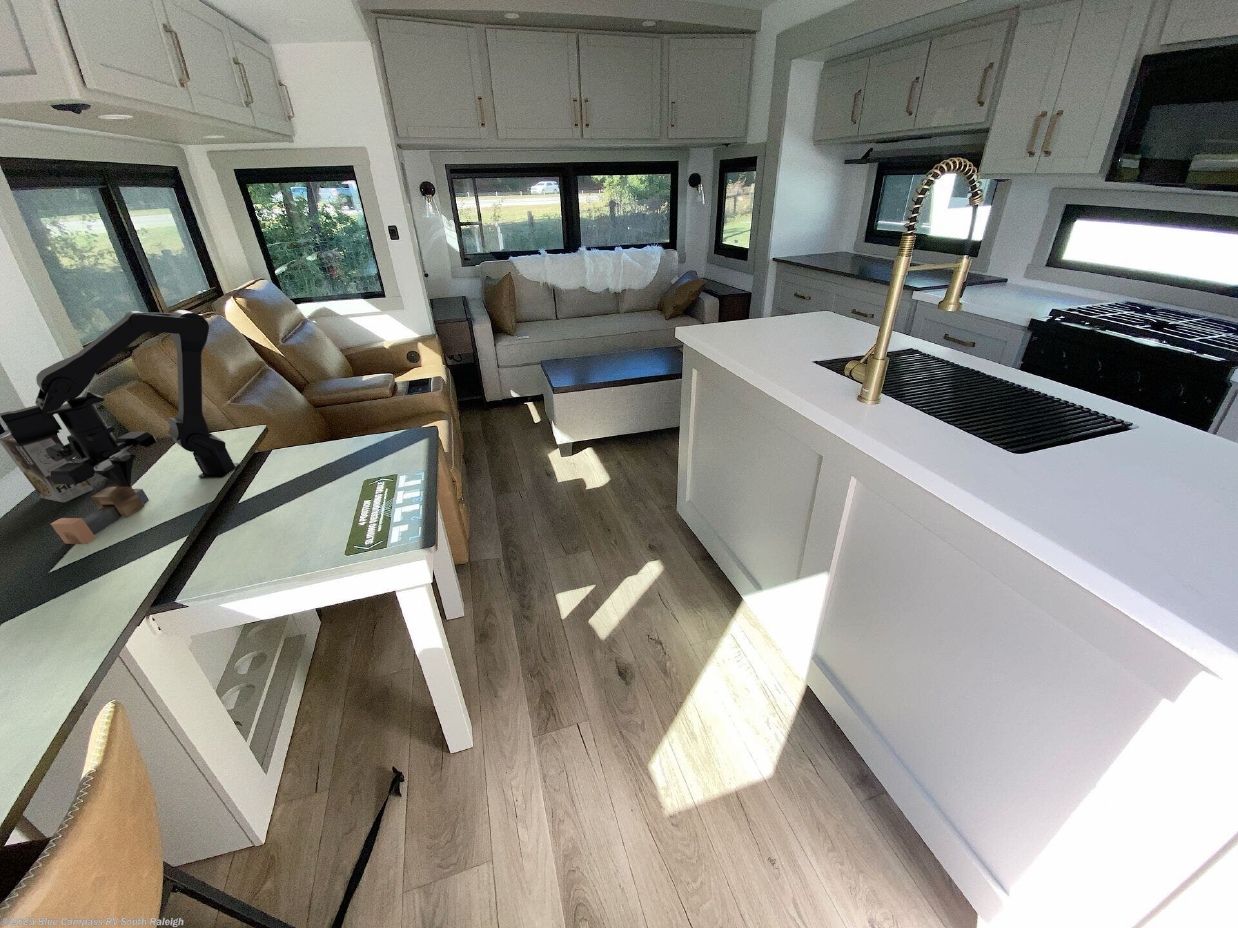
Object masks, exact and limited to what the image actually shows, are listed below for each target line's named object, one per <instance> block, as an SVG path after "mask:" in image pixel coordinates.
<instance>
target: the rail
mask: <svg viewBox="0 0 1238 928" xmlns="http://www.w3.org/2000/svg"><path fill="white" fill-rule="evenodd" d="M133 490H134V491H135V493H136V495H137V496H138V498H139V499H140V501H141V502H142V504H143V505H144V504H145V503H146V502H148V501H149V500H150V498H149V497H148V496H147V494H146V493H145V491H144V489H143V488H133ZM122 518H123V517H122V516H121V514H120V513H119V511H118V510H117V508H116V507H115V505H114V504H107V505H106V506H104V507H102V508H101V509H99V508H98V510H95V511H94V512H93V513H91V514H89V515H88V516H86V517H85V518H82V519H83V520H84V522H85V523H86V524H87V526H88V527H89V529H90V530H91V531H92V533H93V534H94V536H95V535H97V534H98V533H100V532H102V531H103V530H105V529H106V528H107V527H109V526H111V525H113V524H114V523H116V522H117V521H119V520H120V519H122ZM72 534H73V533H72ZM64 535H65V534H64ZM66 535H70V534H68V533H66ZM71 536H72V535H71ZM65 537H66V536H65ZM70 538H72V537H70ZM68 540H73V539H68ZM73 541H78V542H79V540H78V539H77V540H73ZM72 543H73V542H71V545H73V544H72ZM75 543H76V542H75ZM76 544H77V543H76ZM77 545H82V544H81V543H80V542H79V544H77Z"/></svg>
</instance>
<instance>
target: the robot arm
mask: <svg viewBox="0 0 1238 928" xmlns="http://www.w3.org/2000/svg"><path fill="white" fill-rule="evenodd" d="M147 332H150V333H151V332H152V333H153V332H154V333H162V334H170V335H171V338H172V341H173V344H174V346H175V349H176V357H177V359H176V360H177V364H176V365H177V393H178V394H177V395H178V411H177V413H176V415H175V417H168V418H167V421H168V425H169V428H168V432H167V435H169V436H170V437H171V438H172V440H173V441H174V443H176V444H177V445H178V446H180V447H181V448H182V449H184V450H185V451H187V452H190V453H192V455H193V457H194V460H195V462H196V464H197V466H198V467H199V469H200V471H201V473H200V474H199V475H198V478H199V479H222V478H224V477H225V476H227V475H228V474H230V473H231V472H233V471H235V469H237V468H238V467H240V466H241V464H240V463H239V462H233V459H232V457H231V455H230V454H229V451H228V449H227V448H226V445H227V444H226V442H225V441H224V440H223V439H221V438H219V437H218V436H216V435H214V433H210V431H209V427H208V424H207V422H206V419H205V416H204V414H203V382H202V381H203V378H202V377H203V374H202V371H203V369H202V368H203V367H202V365H203V364H202V353H203V350H204V348H205V347H206V344H207V343H208V342H207V341H208V336H209V332H210V325H209V322H208V320H207V319H206V318H205V317H204V316H202V315H200V314H198V313H196V312H192V311H190V310H184V309H179V310H176V311H173V312H171V313H167V312H165V313H164V312H143V311H142V312H141V311H138V310H132V311H128V312H127V313H125V314H124V316H123V317H122V318H121V319H120V320H118V321H117V322H116V323H115V324H113V325H112V326H111V327H109V328H108V329H107V330H106V331H104V332H103V333H101V334H100V335H99V336H98V337H97V338H95V339H94V340H93V341H91V342H90V343H88V344H87V345H86V346H85V347H84V348H82V349H81V350H80V351H78V352H77V353H75V354H73V355H72V356H70V357H66V358H65V359H62V360H60V361H57V362H55V363H53V364H52V365H49V366H48V367H44V368H43V369H42V370H40V371H39V372H38V373H37V374H36V378H35V379H36V384H37V386H38V388H39V389H38V393H37V396H36V398H35V404H34V405H32V406H28V407H25V408H20V409H17V410H10V411H9V410H8V411H4V412H1V413H0V418H1V420H2V421H3V423H4V424H5V426H7V427H6V429H7V430H8V431H9V433H10V435H12V436H13V437H14V439H15V440H16V442H17V443H18V444H19V446H20V447H22V446H25V445H29V444H32V443H36V442H39V441H43V440H46V439H49V438H53V437H56V436H58V437H59V435H58V434H59V433H60V431H61V430H63V427H62V426H61V425H60V423H59V422H58V420H57V419H56V418H55V416H54V415H57V416H58V417H59V419H60V420H61V422H62V424H63V425H64V426H65V428H66V429H67V431H68V432H69V435H67V436H66V438H67V440H66V441H68V443H67V444H63V445H64V446H62V445H60V444H58V443H57V444H55V445H53V446H50V447H48V448H46V449H45V450H46V452H47V453H48V455H49V456H50V457H51V458H52V459H53V460H54V461H57V462H58V461H60V460H62V459H65V460H66V461H67V462H69V461H71V460H72V459H73V460H74V458H76V460H83V459H86V460H84V461H82V462H75V463H66V464H64V465H62V466H60V467H58V468H56V469H54V470H52V471H51V472H50V478H51V480H52V481H53V483H54V484H79V483H82V482H84V481H86V480H89V479H91V478H93V477H94V476H95V474H97V475H100V476H102V477H103V478H105V479H107V480H109V481H110V482H111V483H112V484H114V485H115V486H116V487H132V485H131V484H132V472H133V471H132V470H133V465H134V460H135V459H136V458H137V455H136V454H130V452H129V451H128V450H131V449H132V448H134V447H136V446H139V447H142V448H148V447H151V446H152V445H154V444H156V443H157V442H158V441H157V440H156V438H155V436H154V434H152V433H151V432H149V431H130V432H127V433H125V434H123V435H121V436H118V437H117V438H116V437H115V436H114V434H113V432H115V431H116V429H115V428H114V426H113V425H107V423H106V422H105V420H104V418H103V417H102V415H101V414H100V411H99V410H98V409H97V406H96V405H95V404H97V403H103V402H105V398H104V397H103V396H102V395H101V394H97V393H93V392H92V391H89V390H86V388H88V386H89V385H90V384H91V382H92V381H93V379H94V377H95V375H96V374H97V373H98V371H99V370H100V369H102V368H103V367H104V366H105V365H106V364H108V362H110V361H111V360H113V359H114V358H115V357H116V356H118V354H120V353H121V352H123V351H124V350H125V349H126V348H127V347H128V346H130V345H131V344H132V343H133V342H135V341H137V339H138V338H140V337H141V336H142V335H143V334H145V333H147ZM83 392H84V394H83V395H82V396H81V394H82V393H83ZM229 472H230V473H229Z"/></svg>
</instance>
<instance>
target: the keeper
mask: <svg viewBox="0 0 1238 928" xmlns="http://www.w3.org/2000/svg"><path fill="white" fill-rule="evenodd" d="M133 489H134V487H132V486H131V487H118V486H107V487H106V488H104V489H103V488H102V490H100V491H99V492H97V493H95V494H92V495H91V496H90V499H92V501H93V502H94V504H95V506H96V507H97V508H98V510H99V509H101V508H102V507H104V506H106V505H107V504H114V505H115V507H116V508H117V510H118V511H119V513H120V514H121V516H122V518H123V517H124V518H128V517H130V516H132V515H133V514H135V513H136V512H138V511H140V510H141V509H142V508H144V507H145V506H144V503H143V504H142V502H141V501H140V499H139V498H138V496H137V495H136V493H135V491H134V490H133Z"/></svg>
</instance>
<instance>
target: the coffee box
mask: <svg viewBox="0 0 1238 928" xmlns="http://www.w3.org/2000/svg"><path fill="white" fill-rule="evenodd" d="M57 443H58V444H60V445H62V446H64V445H65V444H64V443H63V442H62V440H61V439H60V437H59V435H58V436H56V437H53V438H49V439H46V440H43V441H39V442H36V443H32V444H29V445H25V446H22V447H20V446H19V444H18V443H17V442H16V440H15V439H14V437H13V436H12V435H11V434H9V435H6V436H3V437H1V438H0V445H1V446H2V448H3V449H4V450H5V451H6V453H7V454H8V455H9V458H11V460H12V461H13V462H14V463H15V465H16V466H17V467H18V468H19V470H20V471H21V473H22V474H23V475H24V476H25V477H26V479H27V480H28V481H29V483H30V484H31V485H32V487H33V488H34V489H35V491H36V493H38V495H39V496H40V497H41V498H42V499H45V500H48V501H49V500H50V501H55V502H60V503H67V502H69V501H71V500H74V499H77V498H78V497H80V496H83V495H84V494H87V493H89V492H91V491H93V490H94V487H93V486H92V485H91V483H90V482H89V481H88V480H89V479H88V480H86V481H84V482H82V483H79V484H54V483H53V481H52V480H51V478H50V472H51V471H52V470H54V469H56V468H58V467H60V466H62V465H64V464H66V463H76V461H75V460H74V458H73V459H72V460H71V461H69V462H67V461H66V460H65V459H62V460H60V461H58V462H57V461H54V460H53V459H52V458H51V457H50V456H49V455H48V453H47V452H46V450H45V449H46V448H48V447H50V446H53V445H55V444H57Z"/></svg>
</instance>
